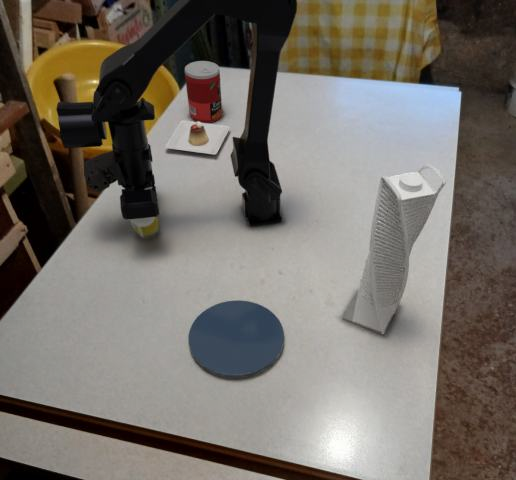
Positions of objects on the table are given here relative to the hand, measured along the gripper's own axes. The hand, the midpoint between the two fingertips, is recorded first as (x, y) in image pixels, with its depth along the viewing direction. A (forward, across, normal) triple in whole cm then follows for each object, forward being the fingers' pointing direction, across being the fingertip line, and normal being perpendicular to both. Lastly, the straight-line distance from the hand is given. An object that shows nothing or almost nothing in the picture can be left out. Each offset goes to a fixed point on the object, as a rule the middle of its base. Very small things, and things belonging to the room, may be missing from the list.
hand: (144, 216), depth 97 cm
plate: (0, +32, +12) cm, 34 cm away
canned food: (+3, -38, +17) cm, 42 cm away
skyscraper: (0, +32, +35) cm, 47 cm away
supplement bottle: (+1, +2, 0) cm, 2 cm away
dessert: (+2, -27, +14) cm, 30 cm away
